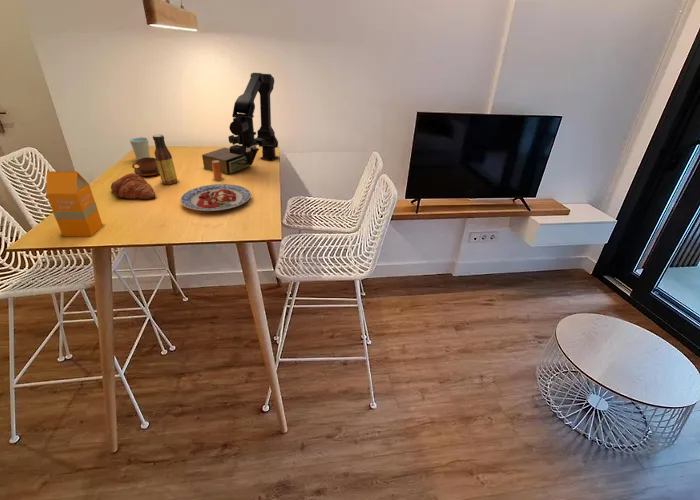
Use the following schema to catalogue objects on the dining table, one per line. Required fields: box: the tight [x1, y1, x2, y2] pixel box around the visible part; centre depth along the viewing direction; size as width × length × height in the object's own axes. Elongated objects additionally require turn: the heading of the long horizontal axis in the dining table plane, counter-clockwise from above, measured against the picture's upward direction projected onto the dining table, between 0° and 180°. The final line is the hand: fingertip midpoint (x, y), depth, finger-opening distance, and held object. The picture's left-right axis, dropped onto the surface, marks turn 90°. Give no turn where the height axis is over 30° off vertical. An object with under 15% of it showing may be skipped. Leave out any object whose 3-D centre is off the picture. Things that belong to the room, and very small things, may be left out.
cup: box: [129, 136, 151, 162], centre depth 183 cm, size 8×8×10 cm
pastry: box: [110, 172, 156, 200], centre depth 149 cm, size 17×15×8 cm
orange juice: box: [45, 170, 103, 237], centre depth 119 cm, size 8×9×20 cm
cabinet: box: [201, 147, 244, 175], centre depth 180 cm, size 15×15×7 cm
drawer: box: [227, 155, 251, 174], centre depth 178 cm, size 18×13×5 cm
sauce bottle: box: [152, 133, 178, 185], centre depth 158 cm, size 7×6×20 cm
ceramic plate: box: [179, 183, 252, 212], centre depth 147 cm, size 26×26×3 cm
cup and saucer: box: [131, 156, 160, 177], centre depth 170 cm, size 12×12×6 cm
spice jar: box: [212, 160, 223, 181], centre depth 166 cm, size 3×3×8 cm
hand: (250, 164), depth 174 cm, fingers closed, pressing on drawer
